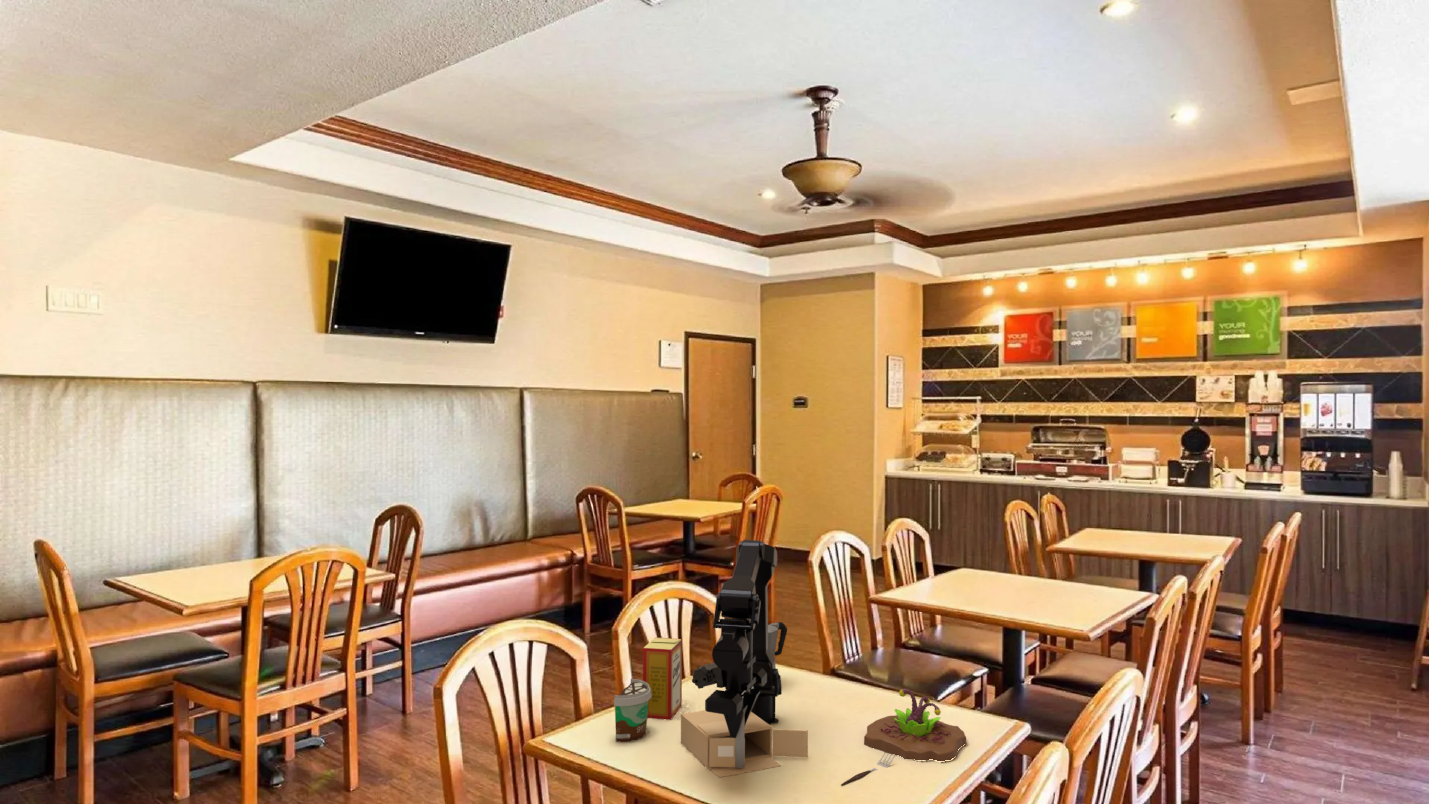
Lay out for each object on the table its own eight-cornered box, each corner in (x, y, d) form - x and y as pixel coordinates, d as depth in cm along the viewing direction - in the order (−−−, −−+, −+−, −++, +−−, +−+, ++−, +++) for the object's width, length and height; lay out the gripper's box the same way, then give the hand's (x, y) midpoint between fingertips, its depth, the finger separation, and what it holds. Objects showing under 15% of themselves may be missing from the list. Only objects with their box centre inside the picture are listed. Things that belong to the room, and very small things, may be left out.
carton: (766, 728, 184) (766, 699, 184) (810, 760, 166) (810, 728, 167) (680, 742, 175) (681, 712, 175) (717, 778, 158) (717, 744, 158)
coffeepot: (750, 698, 203) (750, 623, 203) (727, 688, 211) (727, 616, 211) (798, 687, 212) (798, 615, 212) (774, 677, 219) (774, 608, 220)
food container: (642, 747, 173) (642, 698, 173) (613, 744, 174) (613, 696, 175) (658, 725, 185) (658, 679, 185) (631, 723, 186) (631, 677, 187)
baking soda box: (670, 720, 189) (670, 648, 189) (642, 717, 190) (643, 646, 190) (681, 705, 198) (681, 637, 198) (655, 703, 199) (655, 635, 200)
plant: (887, 719, 190) (887, 670, 190) (974, 737, 180) (974, 685, 180) (851, 749, 173) (851, 694, 173) (945, 771, 163) (945, 712, 163)
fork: (835, 785, 156) (835, 775, 156) (884, 761, 167) (884, 751, 167) (846, 790, 154) (846, 779, 154) (895, 765, 165) (895, 755, 165)
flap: (744, 764, 163) (744, 712, 163) (744, 768, 161) (745, 715, 162) (709, 764, 163) (709, 712, 163) (709, 768, 161) (709, 715, 161)
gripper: (716, 633, 173) (715, 709, 173) (679, 662, 155) (678, 746, 156) (767, 640, 169) (767, 717, 169) (735, 671, 151) (735, 756, 152)
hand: (737, 733), depth 162 cm, fingers open, 4 cm apart
